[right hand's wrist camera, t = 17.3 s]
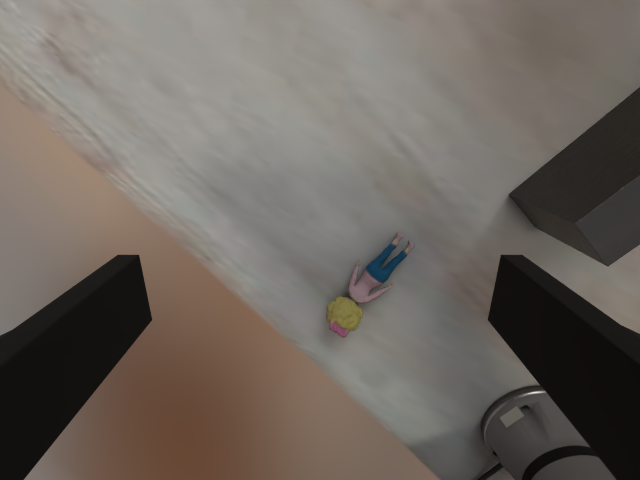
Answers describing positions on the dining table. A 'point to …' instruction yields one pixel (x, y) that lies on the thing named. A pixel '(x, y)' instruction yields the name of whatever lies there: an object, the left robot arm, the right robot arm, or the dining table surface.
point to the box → (592, 188)
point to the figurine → (363, 290)
